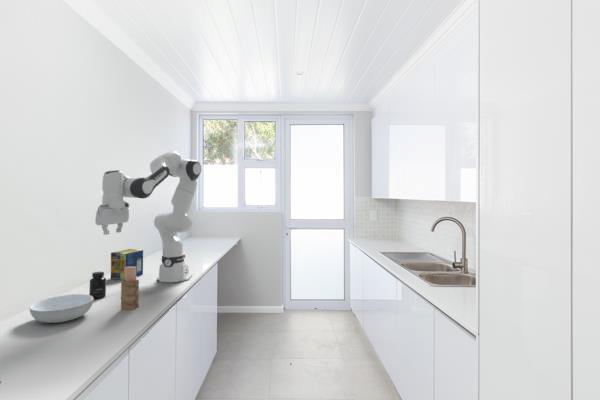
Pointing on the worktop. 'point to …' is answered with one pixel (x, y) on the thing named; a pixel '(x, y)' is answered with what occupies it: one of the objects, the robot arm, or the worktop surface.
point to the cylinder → (130, 274)
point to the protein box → (126, 262)
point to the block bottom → (130, 304)
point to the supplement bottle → (98, 285)
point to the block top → (129, 286)
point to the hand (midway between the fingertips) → (112, 233)
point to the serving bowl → (61, 308)
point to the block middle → (129, 295)
